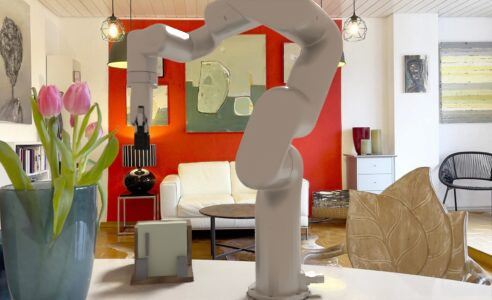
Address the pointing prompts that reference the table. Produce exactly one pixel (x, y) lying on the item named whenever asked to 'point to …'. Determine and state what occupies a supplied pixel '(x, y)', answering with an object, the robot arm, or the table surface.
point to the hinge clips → (143, 267)
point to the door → (162, 246)
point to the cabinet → (164, 278)
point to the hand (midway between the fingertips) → (142, 150)
